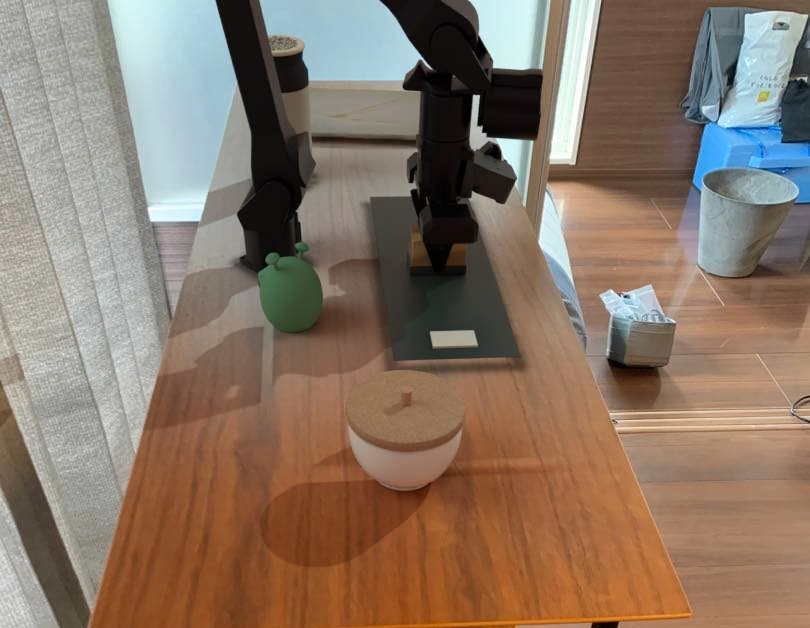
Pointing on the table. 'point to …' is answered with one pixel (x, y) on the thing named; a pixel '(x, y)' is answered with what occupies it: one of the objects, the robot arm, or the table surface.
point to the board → (437, 294)
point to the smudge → (453, 339)
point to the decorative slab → (364, 113)
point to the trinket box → (405, 427)
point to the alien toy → (290, 291)
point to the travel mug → (293, 81)
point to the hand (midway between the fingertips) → (436, 263)
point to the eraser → (421, 261)
